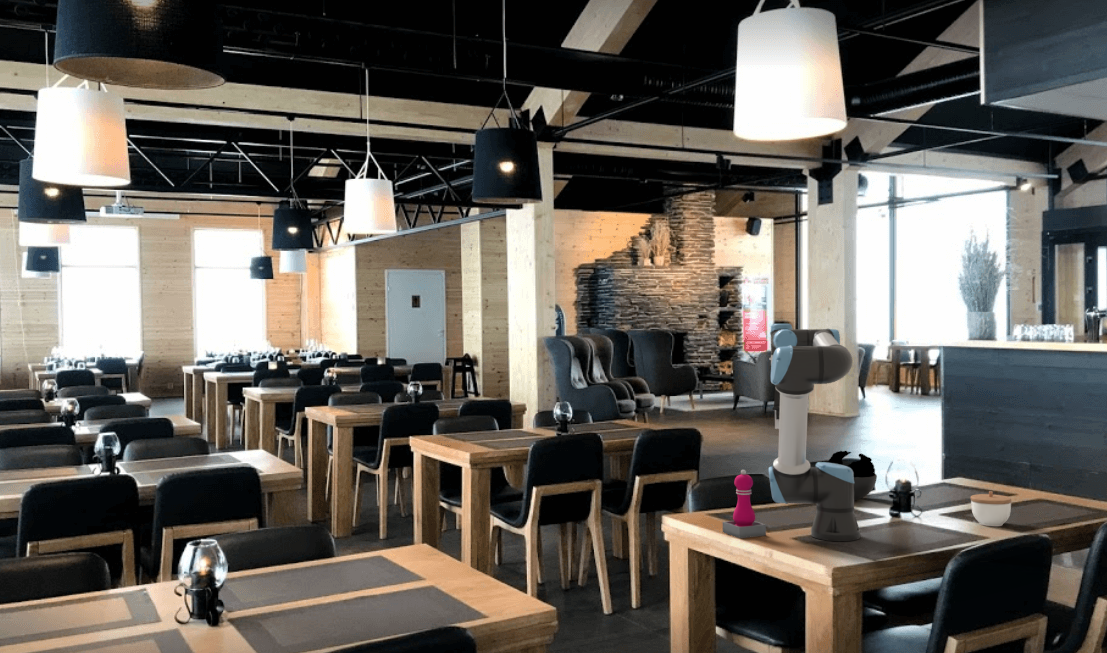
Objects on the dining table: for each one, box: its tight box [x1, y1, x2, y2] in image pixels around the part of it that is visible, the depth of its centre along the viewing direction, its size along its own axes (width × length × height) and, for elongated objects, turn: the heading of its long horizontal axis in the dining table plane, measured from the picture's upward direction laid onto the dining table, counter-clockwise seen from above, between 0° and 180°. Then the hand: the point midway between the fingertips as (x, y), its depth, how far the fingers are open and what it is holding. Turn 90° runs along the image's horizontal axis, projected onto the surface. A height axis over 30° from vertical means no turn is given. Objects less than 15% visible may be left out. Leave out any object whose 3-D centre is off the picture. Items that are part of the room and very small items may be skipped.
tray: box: [722, 520, 767, 539], centre depth 326 cm, size 10×10×4 cm
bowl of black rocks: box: [827, 450, 878, 501], centre depth 385 cm, size 20×20×19 cm
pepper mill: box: [732, 469, 756, 527], centre depth 326 cm, size 7×7×20 cm
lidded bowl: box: [970, 491, 1012, 527], centre depth 337 cm, size 13×13×11 cm
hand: (782, 426), depth 355 cm, fingers open, 13 cm apart
